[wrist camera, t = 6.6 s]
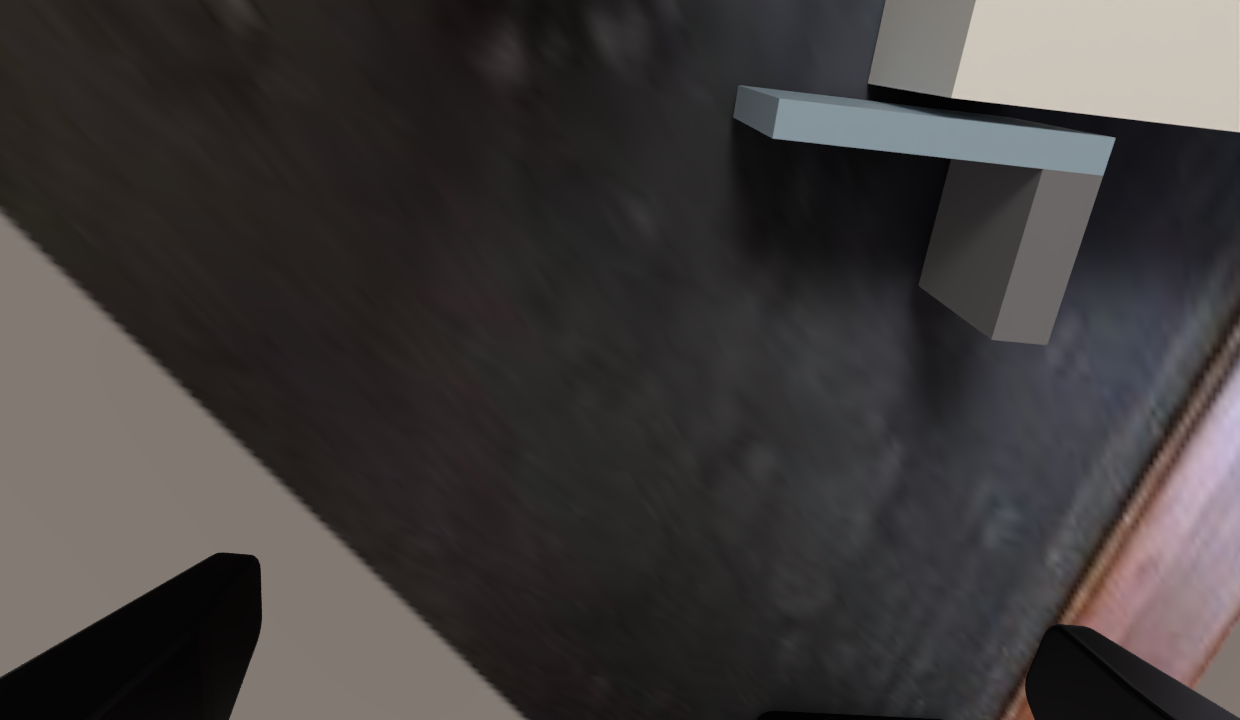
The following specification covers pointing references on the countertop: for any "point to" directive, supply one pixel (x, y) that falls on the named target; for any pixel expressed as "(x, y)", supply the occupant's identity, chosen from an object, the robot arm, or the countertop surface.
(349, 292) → the countertop surface
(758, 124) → the grey l-shaped block
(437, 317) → the countertop surface
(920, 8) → the camera housing
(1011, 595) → the countertop surface
